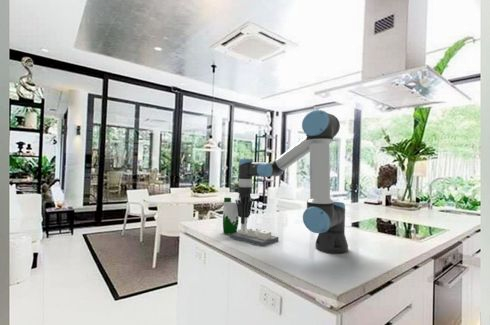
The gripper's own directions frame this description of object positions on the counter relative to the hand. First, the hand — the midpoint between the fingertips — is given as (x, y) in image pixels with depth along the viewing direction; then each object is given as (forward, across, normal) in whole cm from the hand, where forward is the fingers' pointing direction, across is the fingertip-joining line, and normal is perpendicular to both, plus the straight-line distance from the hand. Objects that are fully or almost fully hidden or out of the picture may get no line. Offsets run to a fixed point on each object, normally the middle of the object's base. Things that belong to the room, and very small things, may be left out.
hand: (243, 229), depth 150 cm
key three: (+4, 0, 0) cm, 4 cm away
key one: (+2, 0, +14) cm, 14 cm away
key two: (+2, 0, +7) cm, 7 cm away
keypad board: (+4, 0, +7) cm, 8 cm away
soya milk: (+4, -2, -12) cm, 13 cm away
